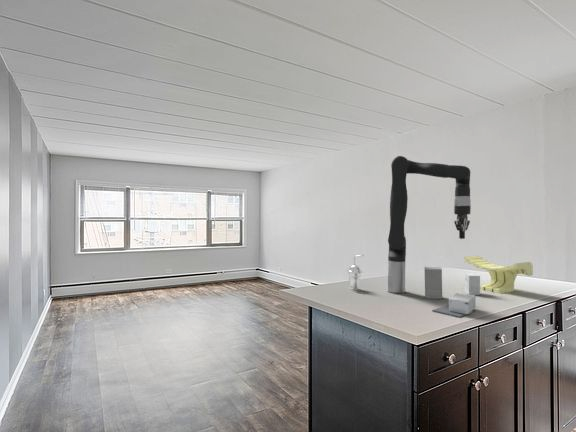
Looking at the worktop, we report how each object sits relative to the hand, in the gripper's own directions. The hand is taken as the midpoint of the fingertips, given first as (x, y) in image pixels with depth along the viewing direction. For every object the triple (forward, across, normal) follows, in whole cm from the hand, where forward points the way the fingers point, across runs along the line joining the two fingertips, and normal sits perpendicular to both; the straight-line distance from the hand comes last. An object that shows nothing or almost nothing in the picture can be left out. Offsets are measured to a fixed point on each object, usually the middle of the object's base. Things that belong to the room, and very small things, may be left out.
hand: (462, 238), depth 179 cm
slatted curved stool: (+31, -38, +3) cm, 49 cm away
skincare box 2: (+27, +16, +10) cm, 33 cm away
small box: (+31, -16, -2) cm, 35 cm away
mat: (+31, +27, +9) cm, 42 cm away
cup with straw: (+31, +28, -48) cm, 63 cm away
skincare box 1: (+31, +10, -10) cm, 34 cm away
